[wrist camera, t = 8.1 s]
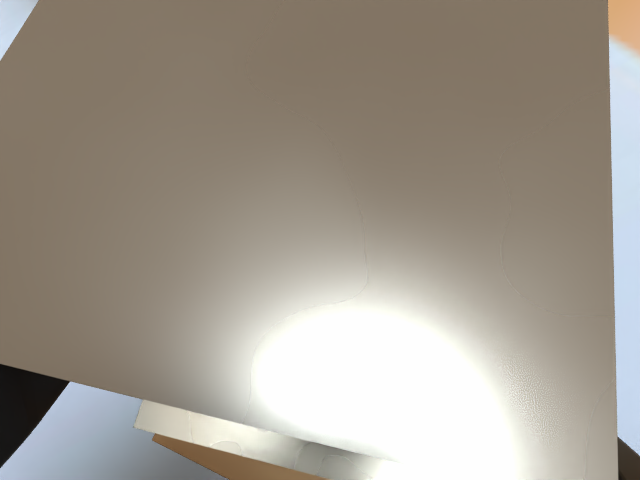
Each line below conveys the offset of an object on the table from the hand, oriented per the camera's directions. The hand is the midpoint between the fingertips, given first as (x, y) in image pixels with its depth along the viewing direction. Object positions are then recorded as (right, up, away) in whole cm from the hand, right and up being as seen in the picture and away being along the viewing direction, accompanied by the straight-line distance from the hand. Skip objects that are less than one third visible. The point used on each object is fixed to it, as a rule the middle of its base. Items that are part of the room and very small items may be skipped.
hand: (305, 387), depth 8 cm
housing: (+1, -1, +7) cm, 8 cm away
